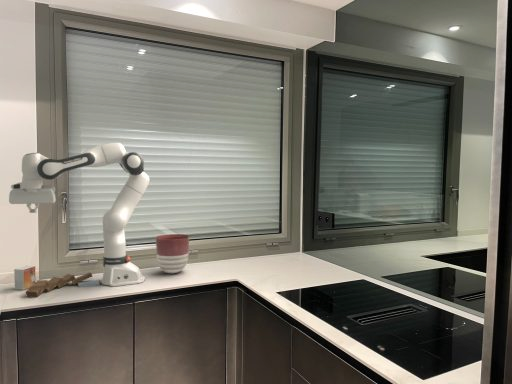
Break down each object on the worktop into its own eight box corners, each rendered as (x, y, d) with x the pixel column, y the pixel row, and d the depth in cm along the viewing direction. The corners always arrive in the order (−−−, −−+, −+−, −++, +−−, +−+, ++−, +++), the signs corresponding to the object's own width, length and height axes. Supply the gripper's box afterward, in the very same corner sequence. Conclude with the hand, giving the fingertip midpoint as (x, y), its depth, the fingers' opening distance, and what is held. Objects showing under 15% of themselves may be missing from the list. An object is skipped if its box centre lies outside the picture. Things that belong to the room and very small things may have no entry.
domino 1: (36, 291, 176) (47, 280, 185) (25, 291, 176) (37, 280, 185) (37, 297, 177) (48, 285, 186) (27, 297, 177) (38, 285, 186)
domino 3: (57, 285, 190) (74, 274, 198) (51, 284, 192) (67, 273, 200) (59, 288, 190) (75, 278, 199) (52, 287, 192) (68, 277, 201)
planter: (186, 267, 234) (186, 233, 233) (192, 275, 216) (192, 238, 215) (154, 269, 227) (154, 235, 226) (157, 278, 209) (157, 240, 208)
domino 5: (78, 283, 193) (98, 282, 196) (79, 281, 198) (99, 279, 201) (78, 287, 193) (98, 285, 196) (79, 284, 198) (99, 283, 201)
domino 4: (71, 281, 194) (91, 272, 199) (71, 280, 198) (90, 271, 203) (73, 284, 194) (92, 276, 199) (72, 283, 198) (91, 275, 203)
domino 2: (47, 288, 183) (61, 277, 192) (39, 288, 185) (53, 276, 194) (48, 292, 184) (62, 280, 193) (40, 291, 185) (54, 280, 194)
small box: (23, 290, 187) (23, 269, 186) (14, 289, 188) (13, 269, 188) (36, 285, 195) (35, 265, 194) (27, 285, 196) (26, 265, 195)
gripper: (56, 185, 192) (57, 211, 193) (12, 185, 187) (13, 212, 188) (53, 185, 186) (54, 212, 187) (7, 185, 181) (8, 213, 181)
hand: (33, 212), depth 187 cm, fingers closed
